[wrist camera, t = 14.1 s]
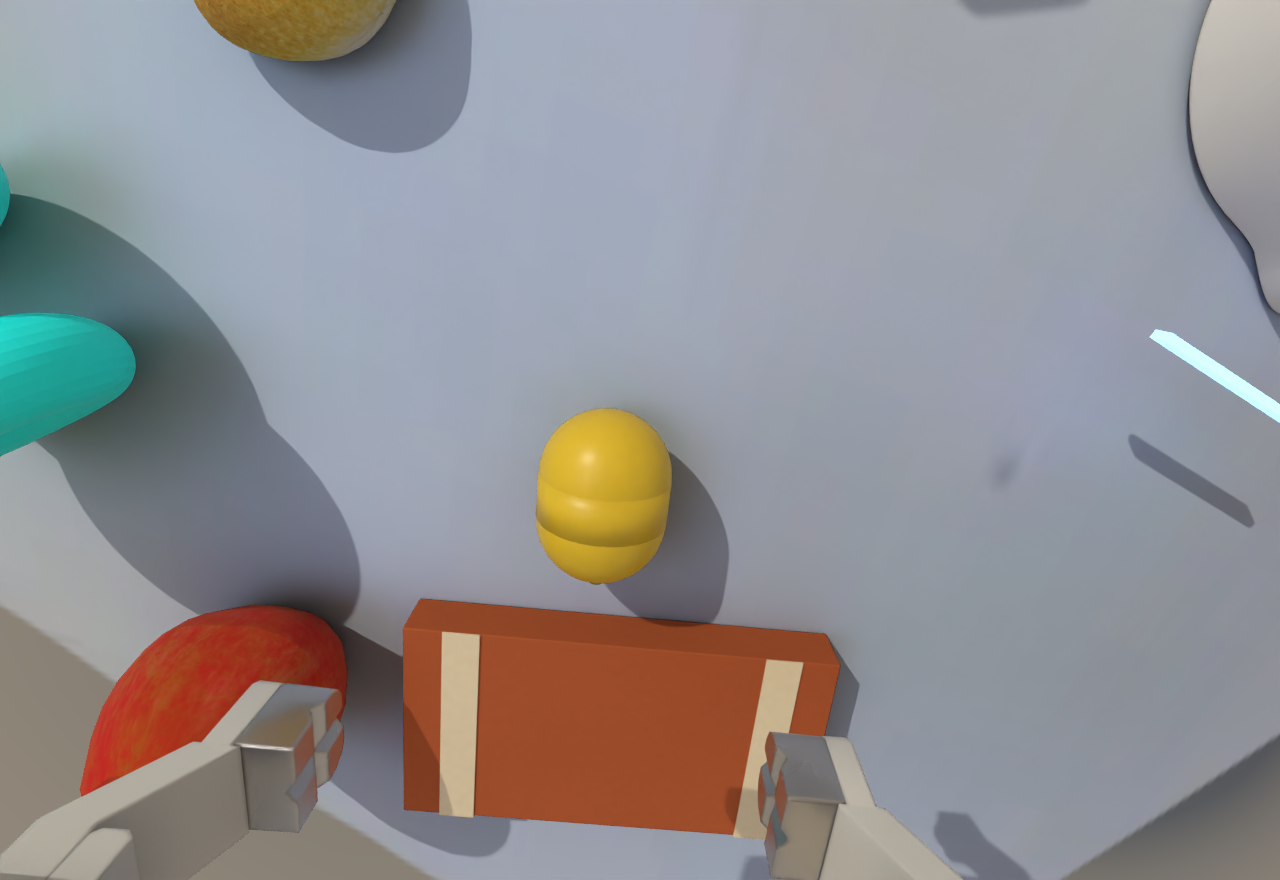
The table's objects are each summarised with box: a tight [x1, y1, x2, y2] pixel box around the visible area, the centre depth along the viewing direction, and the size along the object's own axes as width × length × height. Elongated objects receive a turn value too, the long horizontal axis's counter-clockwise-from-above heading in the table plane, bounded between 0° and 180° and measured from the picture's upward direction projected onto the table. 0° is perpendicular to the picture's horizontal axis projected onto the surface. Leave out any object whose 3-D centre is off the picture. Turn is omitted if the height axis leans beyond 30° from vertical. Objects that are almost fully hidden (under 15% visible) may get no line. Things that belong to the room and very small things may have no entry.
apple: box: [80, 604, 347, 797], centre depth 26 cm, size 8×8×11 cm
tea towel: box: [403, 599, 840, 840], centre depth 31 cm, size 19×10×2 cm, turn 84°
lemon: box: [536, 408, 672, 585], centre depth 26 cm, size 7×5×5 cm
